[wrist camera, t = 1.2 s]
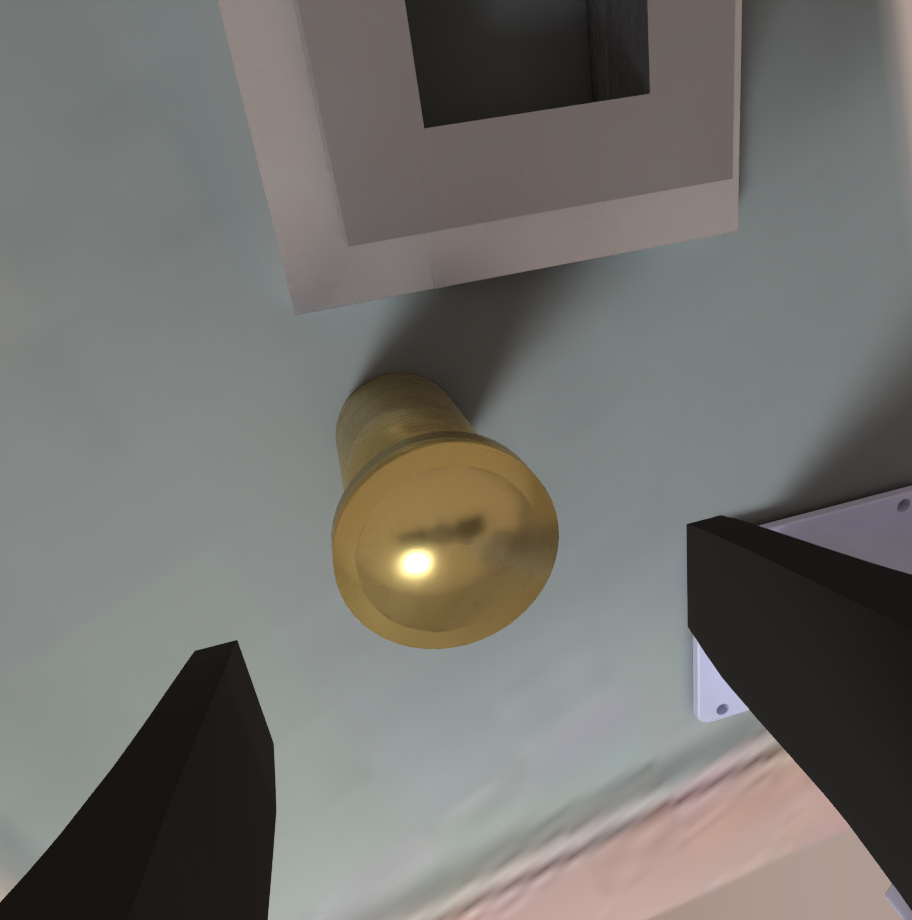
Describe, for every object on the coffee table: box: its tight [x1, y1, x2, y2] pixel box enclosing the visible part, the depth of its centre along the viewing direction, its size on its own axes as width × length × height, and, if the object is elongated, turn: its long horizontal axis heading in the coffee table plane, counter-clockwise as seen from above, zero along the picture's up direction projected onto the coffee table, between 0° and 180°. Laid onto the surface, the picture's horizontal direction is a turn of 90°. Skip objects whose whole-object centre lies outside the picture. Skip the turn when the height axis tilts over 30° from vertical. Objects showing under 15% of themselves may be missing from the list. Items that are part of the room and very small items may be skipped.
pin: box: [331, 373, 559, 649], centre depth 16 cm, size 4×4×7 cm
